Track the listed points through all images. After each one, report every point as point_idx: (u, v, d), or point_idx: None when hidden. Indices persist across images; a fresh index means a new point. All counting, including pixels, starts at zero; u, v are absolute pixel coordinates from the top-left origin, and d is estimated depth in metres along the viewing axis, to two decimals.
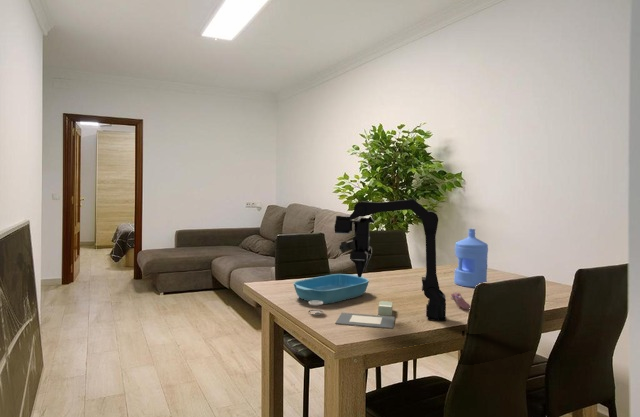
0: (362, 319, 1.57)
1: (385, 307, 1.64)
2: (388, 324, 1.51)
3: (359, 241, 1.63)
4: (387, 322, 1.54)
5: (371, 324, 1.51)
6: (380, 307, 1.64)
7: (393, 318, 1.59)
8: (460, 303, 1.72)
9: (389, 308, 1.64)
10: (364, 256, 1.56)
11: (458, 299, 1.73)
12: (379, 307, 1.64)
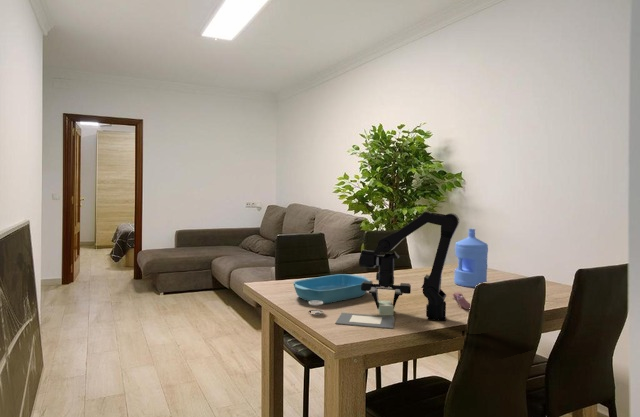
0: (362, 319, 1.57)
1: (387, 306, 1.64)
2: (388, 324, 1.51)
3: None
4: (387, 322, 1.54)
5: (371, 324, 1.51)
6: (382, 307, 1.64)
7: (393, 318, 1.59)
8: (462, 303, 1.72)
9: (391, 307, 1.64)
10: (361, 286, 1.67)
11: (460, 299, 1.73)
12: (381, 307, 1.64)
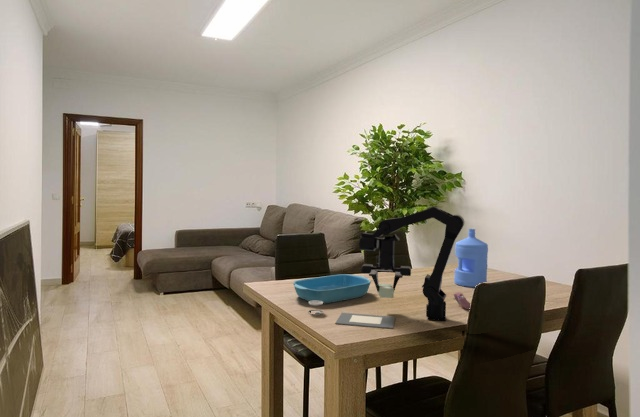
0: (362, 319, 1.57)
1: (387, 289, 1.64)
2: (388, 324, 1.51)
3: None
4: (387, 322, 1.54)
5: (371, 324, 1.51)
6: (382, 289, 1.64)
7: (393, 318, 1.59)
8: (463, 303, 1.72)
9: (391, 290, 1.64)
10: (361, 269, 1.67)
11: (461, 299, 1.73)
12: (381, 289, 1.64)
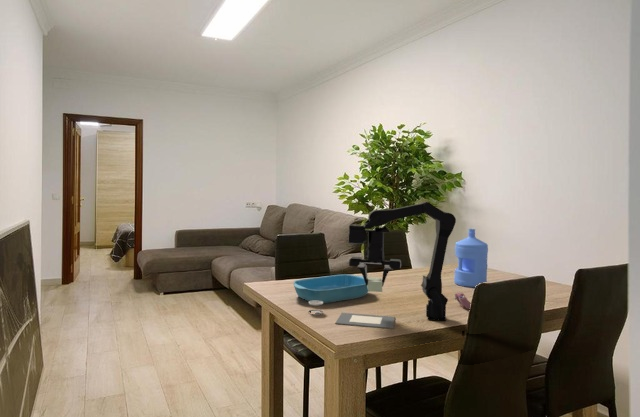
0: (362, 319, 1.57)
1: (376, 282, 1.57)
2: (388, 324, 1.51)
3: None
4: (387, 322, 1.54)
5: (371, 324, 1.51)
6: (370, 283, 1.57)
7: (393, 318, 1.59)
8: (464, 303, 1.72)
9: (380, 283, 1.57)
10: (349, 262, 1.61)
11: (462, 299, 1.73)
12: (369, 283, 1.57)
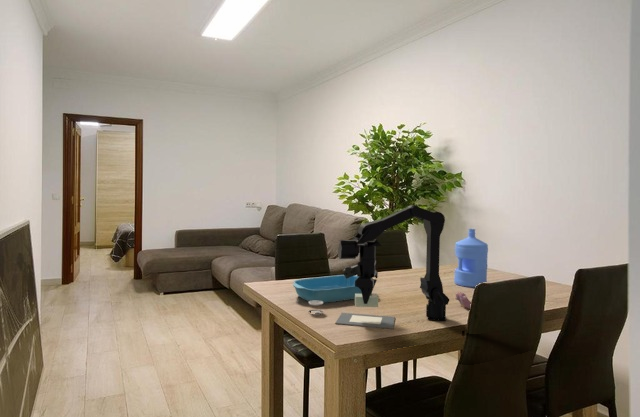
0: (362, 319, 1.57)
1: None
2: (388, 324, 1.51)
3: (364, 266, 1.53)
4: (387, 322, 1.54)
5: (371, 324, 1.51)
6: None
7: (393, 318, 1.59)
8: (465, 303, 1.72)
9: None
10: (370, 283, 1.46)
11: (463, 299, 1.73)
12: None
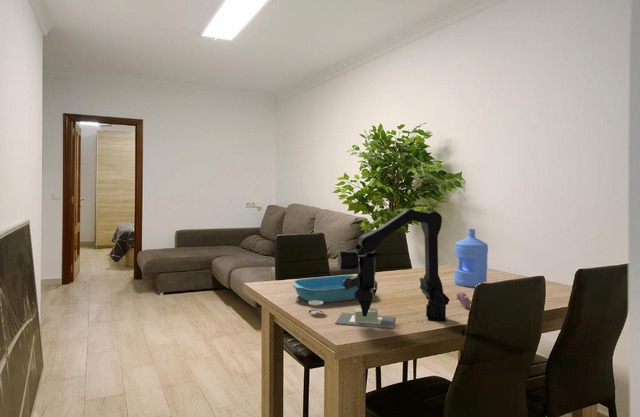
0: None
1: (376, 310, 1.56)
2: (388, 324, 1.51)
3: (364, 278, 1.53)
4: (387, 322, 1.54)
5: (371, 324, 1.51)
6: (377, 312, 1.55)
7: (393, 318, 1.59)
8: (466, 303, 1.73)
9: (376, 310, 1.58)
10: (369, 295, 1.46)
11: (464, 299, 1.73)
12: (377, 313, 1.54)
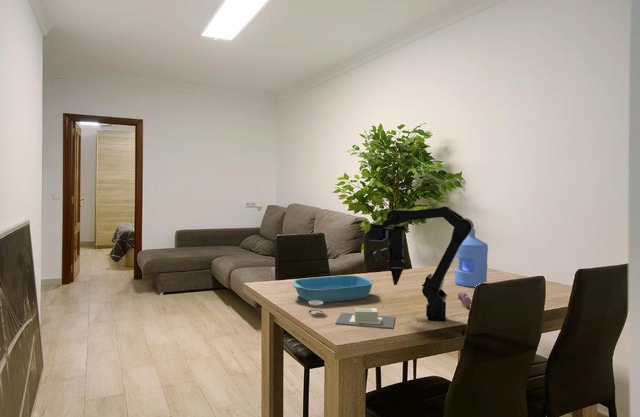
0: None
1: (376, 310, 1.56)
2: (388, 324, 1.51)
3: (394, 249, 1.64)
4: (387, 322, 1.54)
5: (371, 324, 1.51)
6: (377, 312, 1.55)
7: (393, 318, 1.59)
8: (467, 303, 1.73)
9: (376, 310, 1.58)
10: (401, 264, 1.57)
11: (465, 299, 1.73)
12: (377, 313, 1.54)
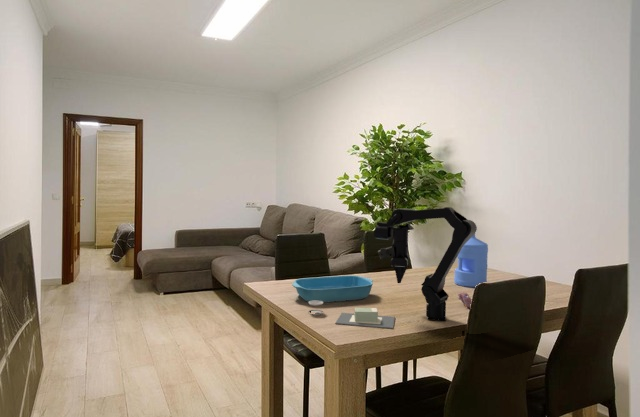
0: None
1: (376, 310, 1.56)
2: (388, 324, 1.51)
3: (398, 248, 1.66)
4: (387, 322, 1.54)
5: (371, 324, 1.51)
6: (377, 312, 1.55)
7: (393, 318, 1.59)
8: (468, 303, 1.73)
9: (376, 310, 1.58)
10: (404, 262, 1.59)
11: (466, 299, 1.73)
12: (377, 313, 1.54)
